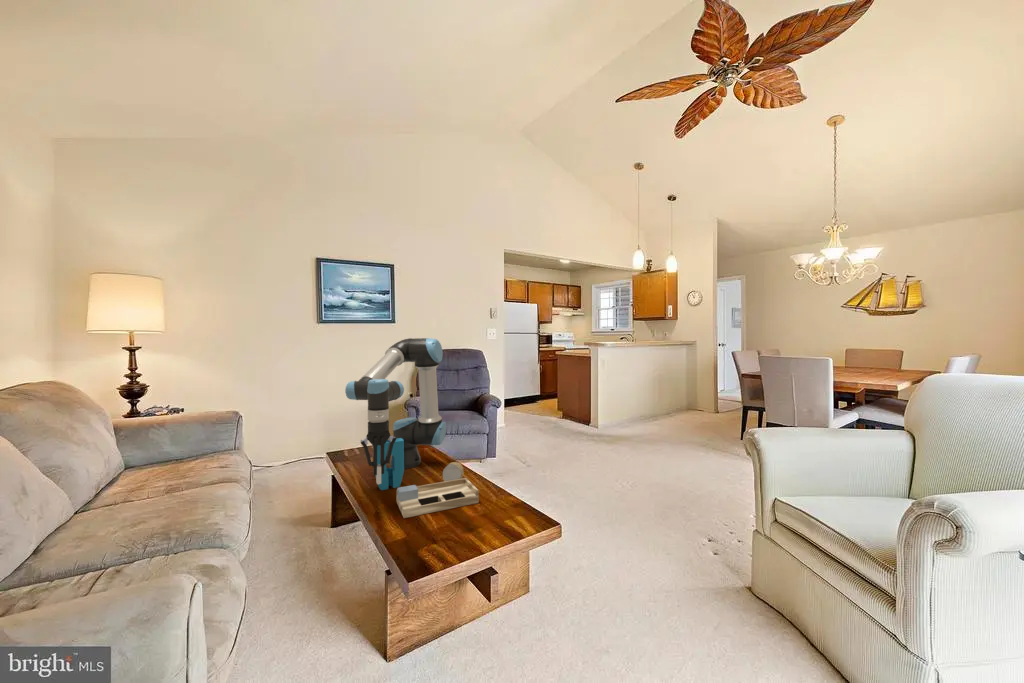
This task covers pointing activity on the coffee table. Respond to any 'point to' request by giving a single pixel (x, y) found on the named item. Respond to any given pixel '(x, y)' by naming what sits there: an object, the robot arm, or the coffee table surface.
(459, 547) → the coffee table surface
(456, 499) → the box
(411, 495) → the block
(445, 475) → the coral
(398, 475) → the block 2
